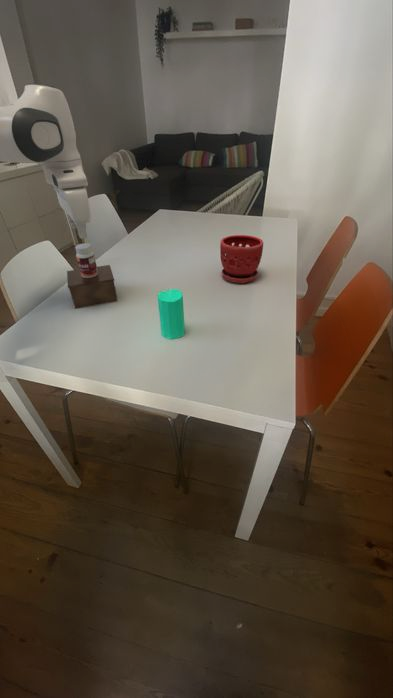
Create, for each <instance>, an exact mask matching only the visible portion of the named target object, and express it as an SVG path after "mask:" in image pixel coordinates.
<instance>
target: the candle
mask: <svg viewBox="0 0 393 698" xmlns="http://www.w3.org/2000/svg"><path fill="white" fill-rule="evenodd" d="M157 305H158V314H159V323H160V334H161V336H162V337H163V338H165V339H169V340H174V339H175V340H176V339H179V338H181V337H183V336H184V334H185V333H186V331H185V329H186V328H185V312H184V309H185V308H184V294H183V291H181V290H180V289H178V288H177V289H176V288H169V289H167V290H162V291H160V292H159V293H158V294H157Z"/></svg>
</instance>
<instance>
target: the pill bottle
mask: <svg viewBox="0 0 393 698" xmlns="http://www.w3.org/2000/svg"><path fill="white" fill-rule="evenodd" d="M74 247H75V252H76V254H75V257H76V261H77V265H78V268H79V269H80V273H81V276H82V277H84V278H92V277H95V276H97V275H98V270H97V267H98V265H97V261H96V257H95V253H94V251H92V245H91V244H90V243H79V244H76V245H75V246H74Z"/></svg>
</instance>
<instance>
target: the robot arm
mask: <svg viewBox="0 0 393 698" xmlns="http://www.w3.org/2000/svg"><path fill="white" fill-rule="evenodd" d="M75 129H76V128H75V124H74V120H73V116H72V112H71V109H70V106H69V103H68V101H67V98H66V96H65V94H64V93H63V91H62V90H61V89H60V88H58V87H56V86H53V85H50V84H43V83H37V82H36V83H28V84H26V85H25V86H24V90H23V93H22V94H21V96H20V97H19V98H17V99H16V100H15V101H14V102H12V103H11V104H10V105H1V106H0V164H5V163H15V164H16V163H17V164H39V163H41V167H42V170H43V174H44V177H45V181H46V183H47V184H48V185H52V186H53V190H54V191H55V192H56V197H57V201H58V204H59V206H60V208H61V209H62V210H63V211H64V212H65V214H66V217H67V220H68V222H69V225H70V228H71V229H73V230H75V229H77V235H78V237H79V239H81V240H83V239H87V238H88V234H87V224H89V223H90V222H91V210H90V204H89V203H90V202H89V196H88V192H87V188H86V187H88V185H89V183H88V177H87V176H86V174H85V170H84V166H83V162H82V158H81V154H80V152H79V150H78V146H77V133H76V130H75Z"/></svg>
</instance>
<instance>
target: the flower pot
mask: <svg viewBox="0 0 393 698" xmlns="http://www.w3.org/2000/svg"><path fill="white" fill-rule="evenodd" d="M219 244H220V247H219V248H220V263H221V266H222V270H221V276H222V277H223V278H224V279H225V280H227V281H228V282H231V283H237V284H238V283H239V284H243V283H248V282H252V281H253V280H255V279H256V278H257V277H258V273H259V271H258V268H259V266H260V263H261V260H262V257H263V250H264V241H263V240H262V239H261V238H260V237H257V236H253V235H249V234H248V235H247V234H246V235H245V234H236V235H235V234H234V235H228V236H225V237H223V238H221V239H220V243H219Z"/></svg>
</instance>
